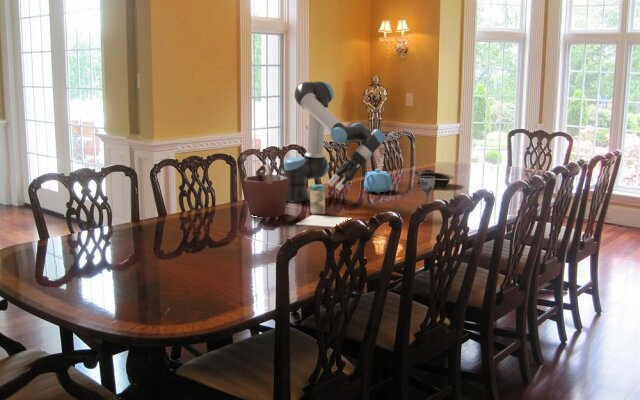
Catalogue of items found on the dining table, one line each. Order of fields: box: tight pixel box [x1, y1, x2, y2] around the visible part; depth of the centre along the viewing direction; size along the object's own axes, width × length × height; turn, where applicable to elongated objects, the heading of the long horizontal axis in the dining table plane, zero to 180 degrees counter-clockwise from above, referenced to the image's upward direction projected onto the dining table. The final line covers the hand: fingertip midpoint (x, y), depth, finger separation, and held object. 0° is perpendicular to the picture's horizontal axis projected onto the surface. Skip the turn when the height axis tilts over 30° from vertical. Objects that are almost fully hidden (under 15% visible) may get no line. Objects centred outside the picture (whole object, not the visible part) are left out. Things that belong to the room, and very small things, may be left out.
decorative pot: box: [363, 168, 393, 195], centre depth 401 cm, size 16×16×14 cm
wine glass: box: [419, 176, 435, 203], centre depth 360 cm, size 8×8×15 cm
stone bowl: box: [414, 169, 456, 189], centre depth 418 cm, size 25×25×9 cm
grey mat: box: [295, 214, 359, 228], centre depth 324 cm, size 24×20×1 cm
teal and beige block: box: [309, 183, 326, 215], centre depth 344 cm, size 6×6×14 cm
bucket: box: [243, 164, 289, 218], centre depth 339 cm, size 24×22×25 cm
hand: (333, 186), depth 344 cm, fingers open, 13 cm apart
